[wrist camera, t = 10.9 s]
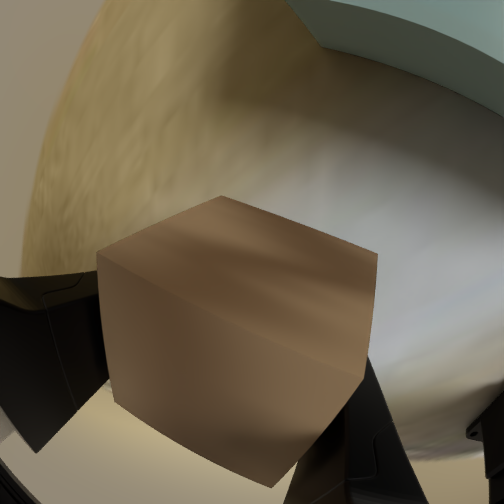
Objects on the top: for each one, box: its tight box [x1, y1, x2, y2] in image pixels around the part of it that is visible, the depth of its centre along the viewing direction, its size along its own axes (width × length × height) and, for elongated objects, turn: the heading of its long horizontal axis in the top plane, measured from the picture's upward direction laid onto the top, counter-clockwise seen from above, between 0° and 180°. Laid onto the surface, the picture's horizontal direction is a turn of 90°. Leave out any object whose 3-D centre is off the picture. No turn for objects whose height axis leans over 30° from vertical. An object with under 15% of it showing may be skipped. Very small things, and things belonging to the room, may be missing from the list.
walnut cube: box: [97, 195, 378, 488], centre depth 8 cm, size 5×5×5 cm
